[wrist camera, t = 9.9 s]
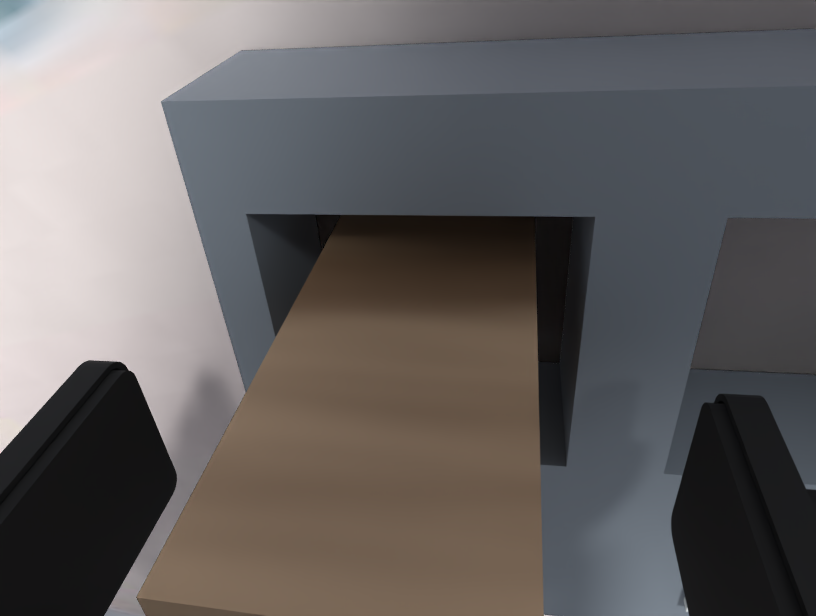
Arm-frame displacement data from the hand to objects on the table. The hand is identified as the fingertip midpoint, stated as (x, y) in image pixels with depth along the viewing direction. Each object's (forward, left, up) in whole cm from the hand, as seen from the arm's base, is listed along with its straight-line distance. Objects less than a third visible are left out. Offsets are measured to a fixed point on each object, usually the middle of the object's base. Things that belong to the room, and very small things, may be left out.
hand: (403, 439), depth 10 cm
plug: (0, 0, -6) cm, 6 cm away
